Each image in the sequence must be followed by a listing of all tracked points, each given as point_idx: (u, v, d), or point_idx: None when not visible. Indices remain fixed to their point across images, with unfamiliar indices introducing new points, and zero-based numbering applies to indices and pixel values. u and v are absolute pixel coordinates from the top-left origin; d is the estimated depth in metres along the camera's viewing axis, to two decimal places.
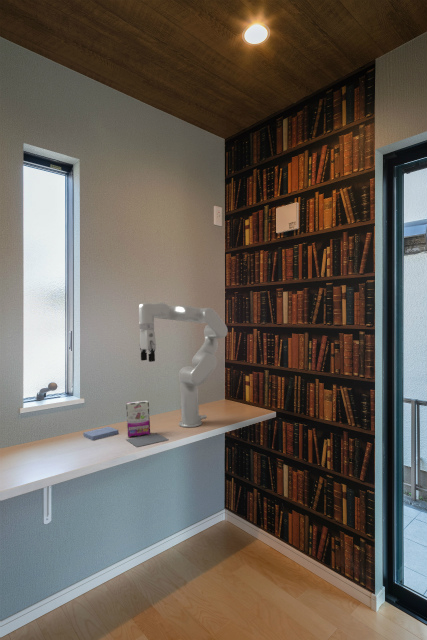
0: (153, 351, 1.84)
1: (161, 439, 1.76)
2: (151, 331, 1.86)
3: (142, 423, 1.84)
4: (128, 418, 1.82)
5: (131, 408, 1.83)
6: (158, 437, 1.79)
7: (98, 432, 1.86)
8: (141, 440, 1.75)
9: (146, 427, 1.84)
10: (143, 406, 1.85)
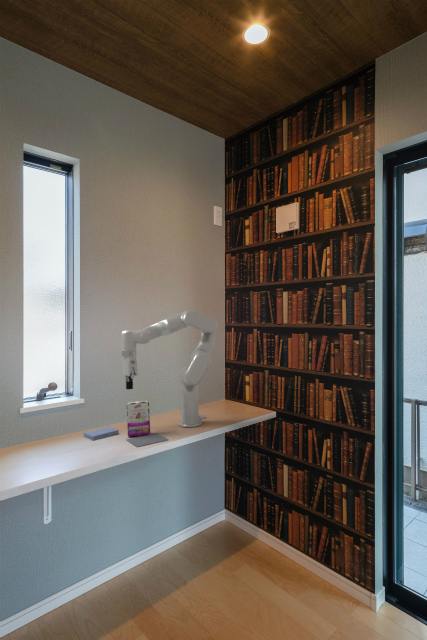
0: (131, 379, 1.91)
1: (161, 439, 1.76)
2: (133, 358, 1.90)
3: (142, 423, 1.84)
4: (128, 418, 1.82)
5: (131, 408, 1.83)
6: (158, 437, 1.79)
7: (98, 432, 1.86)
8: (141, 440, 1.75)
9: (146, 427, 1.84)
10: (143, 406, 1.85)
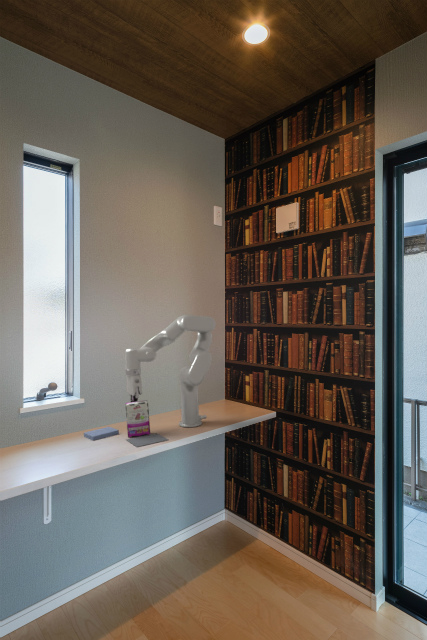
0: (136, 399, 1.87)
1: (161, 439, 1.76)
2: (137, 377, 1.86)
3: (141, 424, 1.83)
4: (128, 419, 1.81)
5: (130, 409, 1.82)
6: (158, 437, 1.79)
7: (98, 432, 1.85)
8: (141, 440, 1.75)
9: (146, 428, 1.84)
10: (142, 407, 1.83)
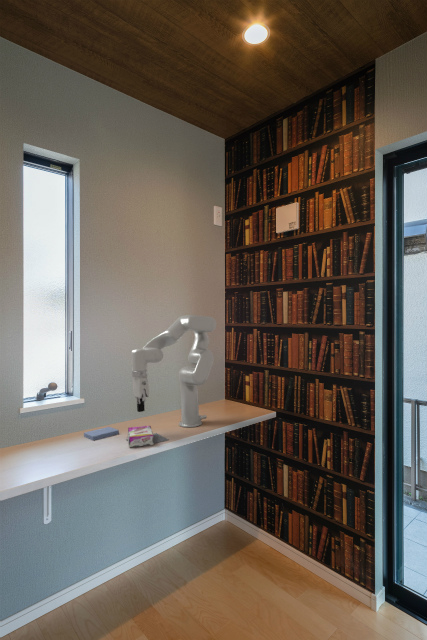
0: (142, 401, 1.80)
1: (161, 439, 1.76)
2: (144, 379, 1.79)
3: None
4: None
5: None
6: (158, 437, 1.79)
7: (98, 432, 1.85)
8: None
9: None
10: None
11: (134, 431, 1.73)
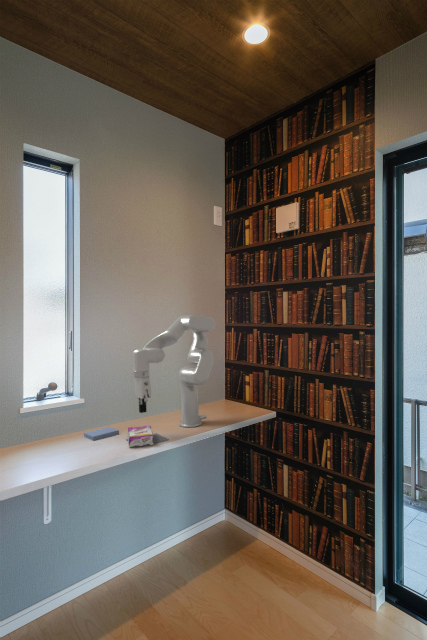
0: (144, 402, 1.78)
1: (161, 439, 1.76)
2: (146, 379, 1.77)
3: None
4: None
5: None
6: (158, 437, 1.79)
7: (99, 432, 1.85)
8: None
9: None
10: None
11: (134, 431, 1.73)
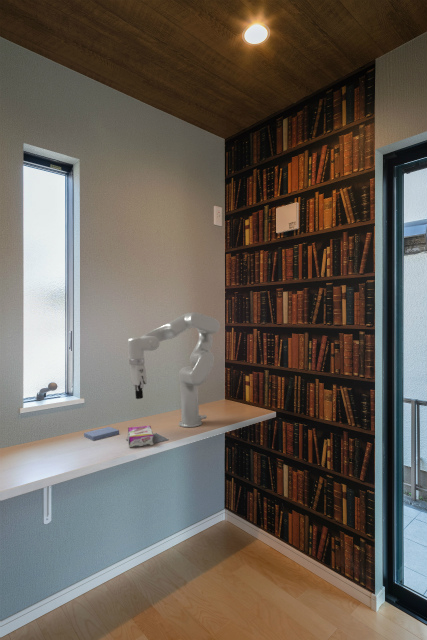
0: (141, 388, 1.84)
1: (161, 439, 1.76)
2: (141, 366, 1.82)
3: None
4: None
5: None
6: (158, 437, 1.79)
7: (99, 432, 1.85)
8: None
9: None
10: None
11: (134, 431, 1.73)
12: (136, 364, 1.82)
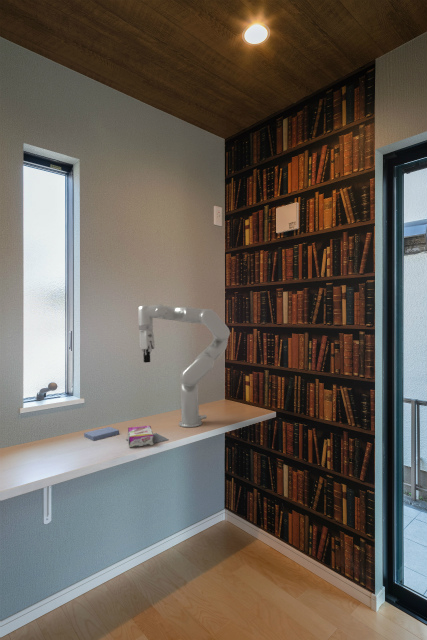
0: (148, 353, 1.98)
1: (161, 439, 1.76)
2: (150, 332, 1.96)
3: None
4: None
5: None
6: (158, 437, 1.79)
7: (99, 432, 1.85)
8: None
9: None
10: None
11: (134, 431, 1.73)
12: (145, 329, 1.96)
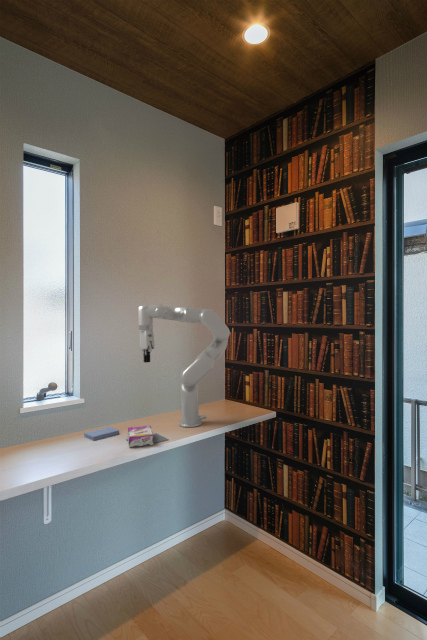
0: (148, 353, 1.98)
1: (161, 439, 1.76)
2: (150, 332, 1.96)
3: None
4: None
5: None
6: (158, 437, 1.79)
7: (99, 432, 1.85)
8: None
9: None
10: None
11: (134, 431, 1.73)
12: (145, 329, 1.96)
